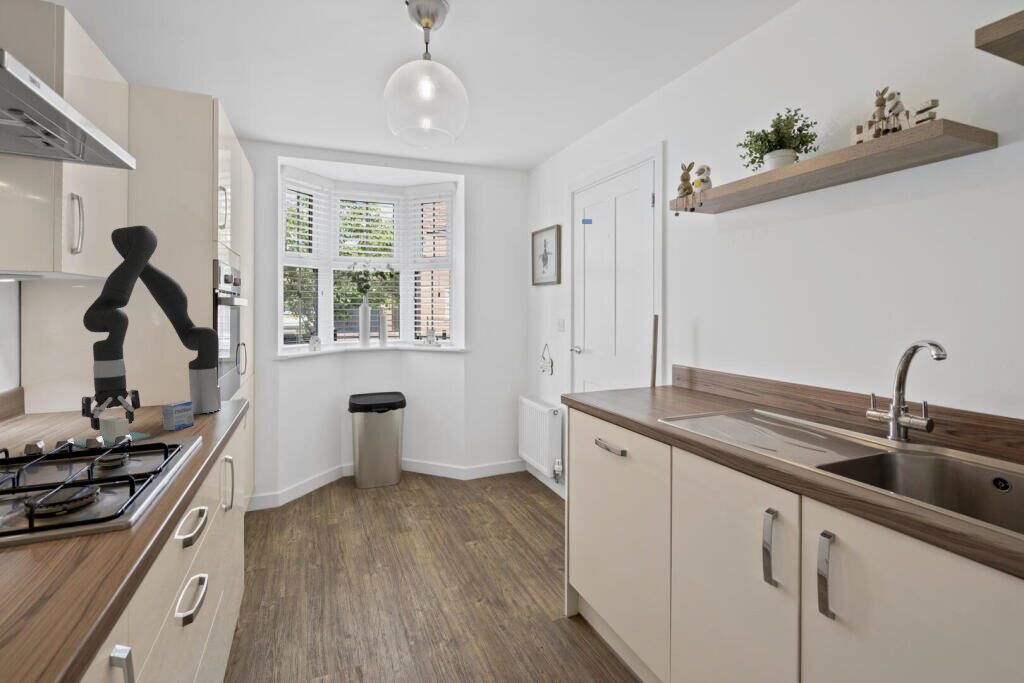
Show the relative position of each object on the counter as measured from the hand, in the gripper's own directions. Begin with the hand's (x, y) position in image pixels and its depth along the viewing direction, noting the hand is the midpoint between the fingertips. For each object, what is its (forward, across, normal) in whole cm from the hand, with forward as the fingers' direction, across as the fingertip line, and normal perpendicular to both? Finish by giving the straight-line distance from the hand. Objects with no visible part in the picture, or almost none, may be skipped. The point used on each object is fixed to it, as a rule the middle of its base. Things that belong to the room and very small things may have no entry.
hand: (113, 426), depth 149 cm
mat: (+5, 0, -2) cm, 5 cm away
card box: (+1, 0, +5) cm, 5 cm away
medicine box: (+5, -18, +1) cm, 19 cm away
